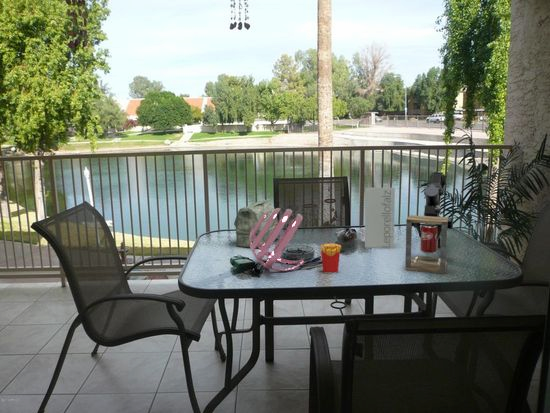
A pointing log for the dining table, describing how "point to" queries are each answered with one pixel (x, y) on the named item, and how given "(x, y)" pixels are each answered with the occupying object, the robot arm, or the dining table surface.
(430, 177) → the robot arm
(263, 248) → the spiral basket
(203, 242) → the dining table surface
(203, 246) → the dining table surface
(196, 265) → the dining table surface
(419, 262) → the wooden open frame
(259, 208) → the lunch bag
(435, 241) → the soda can
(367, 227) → the white box
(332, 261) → the french fries
